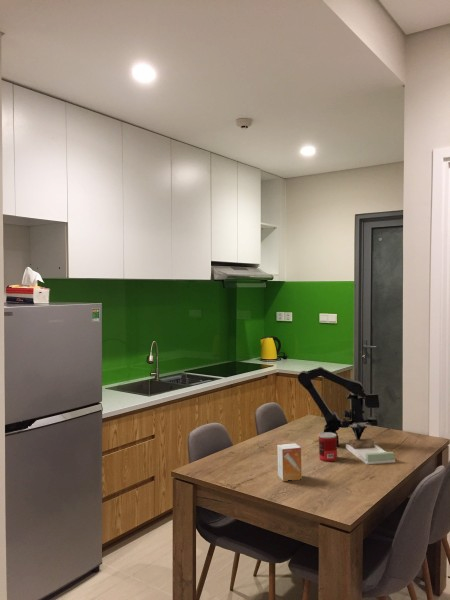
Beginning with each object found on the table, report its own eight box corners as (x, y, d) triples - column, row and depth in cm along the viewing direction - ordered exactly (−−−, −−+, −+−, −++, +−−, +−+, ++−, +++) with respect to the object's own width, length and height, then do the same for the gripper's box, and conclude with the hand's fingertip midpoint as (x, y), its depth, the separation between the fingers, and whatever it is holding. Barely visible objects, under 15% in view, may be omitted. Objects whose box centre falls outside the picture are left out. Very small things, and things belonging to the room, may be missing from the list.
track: (366, 464, 217) (366, 455, 217) (345, 448, 240) (345, 439, 240) (395, 462, 219) (395, 452, 219) (371, 446, 242) (371, 437, 242)
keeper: (352, 448, 235) (352, 442, 235) (349, 446, 239) (349, 439, 239) (373, 447, 237) (373, 440, 237) (370, 444, 241) (369, 438, 241)
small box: (282, 482, 199) (282, 449, 199) (277, 476, 205) (276, 444, 205) (302, 479, 201) (301, 447, 201) (296, 474, 207) (295, 442, 207)
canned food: (340, 458, 225) (339, 433, 225) (331, 463, 220) (330, 438, 220) (325, 455, 231) (325, 431, 231) (316, 459, 225) (315, 435, 225)
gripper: (368, 403, 251) (368, 434, 251) (332, 405, 248) (333, 437, 249) (378, 408, 240) (379, 440, 240) (341, 410, 237) (341, 443, 238)
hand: (357, 440), depth 242 cm, fingers closed
